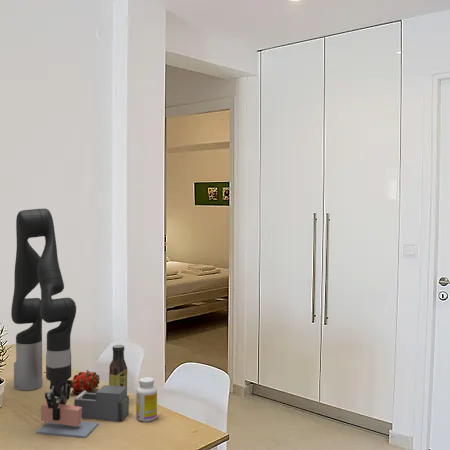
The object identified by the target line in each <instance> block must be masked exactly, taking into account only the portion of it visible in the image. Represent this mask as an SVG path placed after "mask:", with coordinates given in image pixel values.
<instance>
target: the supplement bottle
mask: <svg viewBox="0 0 450 450" xmlns="http://www.w3.org/2000/svg"><path fill="white" fill-rule="evenodd" d="M138 382H139V383H138V384H139V386H138V387H137V388H136V392H135V395H136V396H135V398H136V400H135V401H136V404H135V405H136V407H135V410H136V413H135V415H136V416H135V417H136V420H138V421H139V422H144V423H145V422H146V423H147V422H148V423H149V422H152V421H155V420H156V419H157V418H158V417H157V416H158V393H157V392H158V389H157V387H156V386H155V385H154V383H155V379H154V377H150V376H149V377H147V376H146V377H141V378H140V379H139V381H138Z"/></svg>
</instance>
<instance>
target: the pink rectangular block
mask: <svg viewBox="0 0 450 450" xmlns="http://www.w3.org/2000/svg"><path fill="white" fill-rule="evenodd" d="M40 409H41V411H40V421H41V422H46V423H47V422H52V423H58V424H64V425H70V426H76V427H77V426H78V425H79V424H80V423H81V421H82V418H81V417H82V407H78V406H74V405H70V404H67V403H66V404H60V420H58V421H57V420H53V409H51V408H48V405H47V402H46V401H45V402H43V403H42V404H41V407H40Z"/></svg>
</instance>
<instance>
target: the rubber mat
mask: <svg viewBox="0 0 450 450" xmlns="http://www.w3.org/2000/svg"><path fill="white" fill-rule="evenodd" d="M99 426H100V423H99V422H94V421H83V420H81V423H80V424H79V425H78V426H77V427H76V426H70V425H64V424H58V423H52V422H46V423H44V424H43V425H42V426H41V427H40V428H39V429H37V430H36V431H35V433H36V434H37V435H39V434H40V435H47V436H48V435H49V436H58V437H70V438H81V439H87V437H88V436H90V435H91V433H93V432H94V430H95V429H96V428H97V427H99Z"/></svg>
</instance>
